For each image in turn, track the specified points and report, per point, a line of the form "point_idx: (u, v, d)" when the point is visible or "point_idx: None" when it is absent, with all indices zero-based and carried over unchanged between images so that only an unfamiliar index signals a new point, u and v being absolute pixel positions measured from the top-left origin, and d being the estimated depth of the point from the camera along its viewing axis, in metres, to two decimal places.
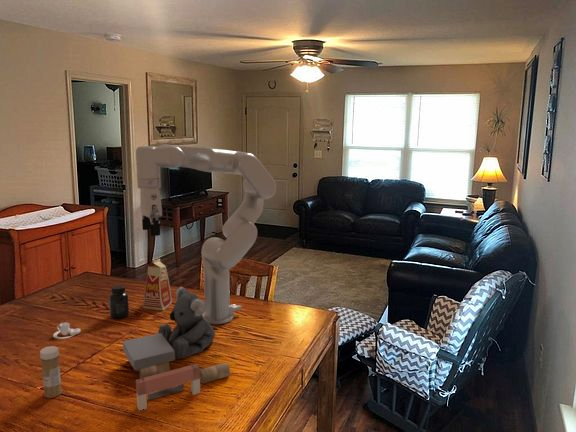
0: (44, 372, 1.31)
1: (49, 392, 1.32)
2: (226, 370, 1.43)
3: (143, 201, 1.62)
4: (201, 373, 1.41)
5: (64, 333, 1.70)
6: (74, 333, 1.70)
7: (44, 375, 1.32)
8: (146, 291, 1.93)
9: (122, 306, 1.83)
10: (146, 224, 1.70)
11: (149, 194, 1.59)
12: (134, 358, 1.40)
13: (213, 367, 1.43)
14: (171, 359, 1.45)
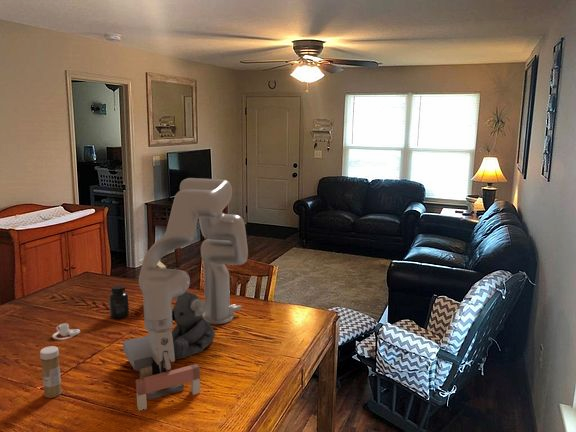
0: (44, 372, 1.31)
1: (49, 392, 1.32)
2: None
3: (152, 344, 1.33)
4: None
5: (63, 334, 1.69)
6: (73, 334, 1.69)
7: (44, 375, 1.32)
8: None
9: (122, 306, 1.83)
10: (156, 369, 1.40)
11: (159, 339, 1.31)
12: (134, 358, 1.40)
13: None
14: None
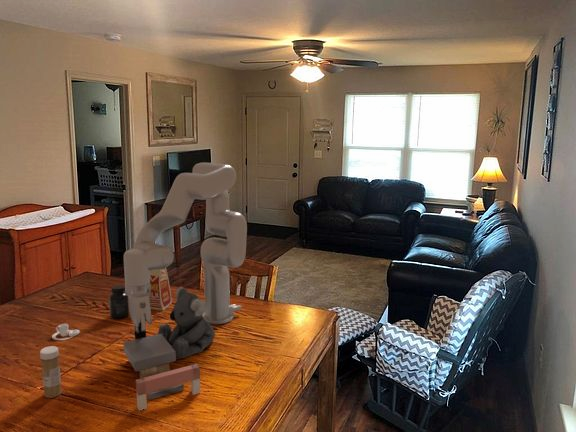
0: (44, 372, 1.31)
1: (49, 392, 1.32)
2: None
3: (131, 308, 1.51)
4: None
5: (63, 334, 1.69)
6: (73, 334, 1.69)
7: (44, 375, 1.32)
8: None
9: (122, 306, 1.83)
10: None
11: (137, 303, 1.48)
12: (135, 359, 1.40)
13: None
14: (172, 360, 1.45)
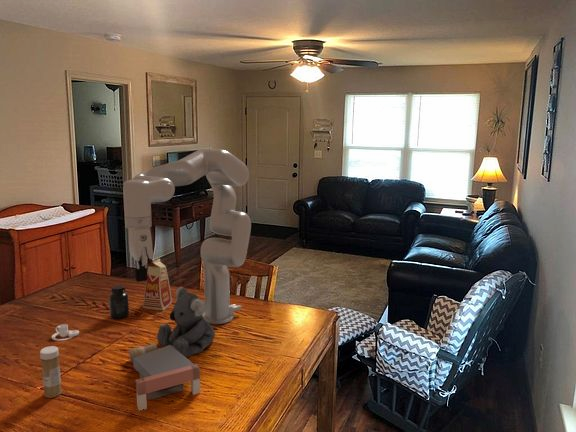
0: (44, 372, 1.31)
1: (49, 392, 1.32)
2: None
3: (132, 242, 1.42)
4: None
5: (62, 335, 1.69)
6: (73, 335, 1.69)
7: (44, 375, 1.32)
8: (146, 291, 1.93)
9: (122, 306, 1.83)
10: None
11: (138, 235, 1.40)
12: None
13: None
14: None
